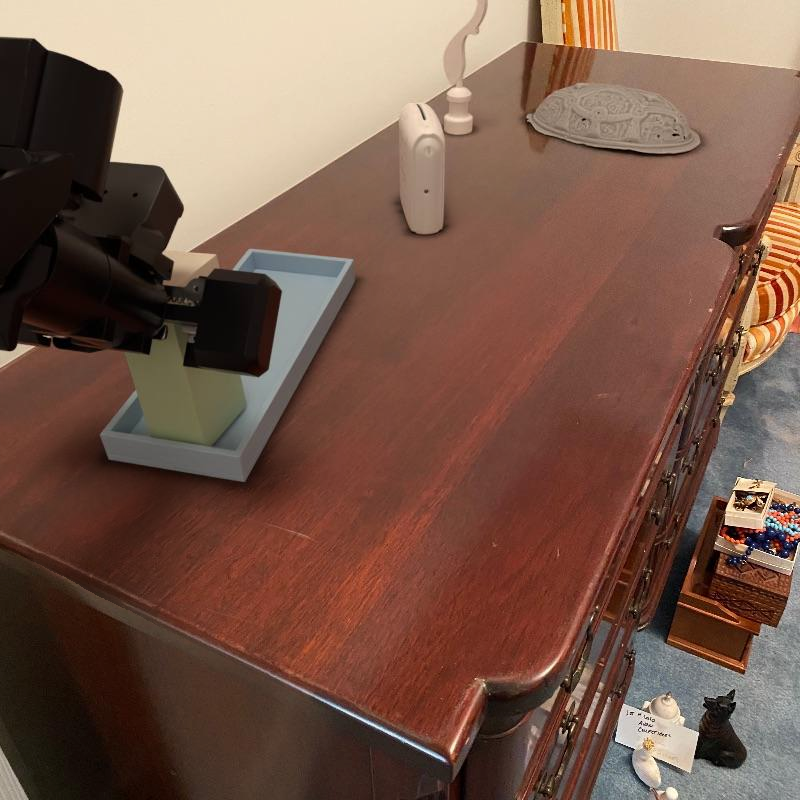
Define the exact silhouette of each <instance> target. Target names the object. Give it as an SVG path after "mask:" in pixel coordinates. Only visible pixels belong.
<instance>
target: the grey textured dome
mask: <svg viewBox="0 0 800 800" xmlns="http://www.w3.org/2000/svg"><path fill="white" fill-rule="evenodd" d="M525 118H526V119H527V123H528V122H529V123H530V124H531V125H532V127H533V128H534V129H535V131H537V132H539V133H541V134H543V135H546V136H550V137H555V138H559V139H562V140H565V141H568V142H571V143H574V144H577V145H585V146H588V147H595V148H602V149H603V148H604V149H606V148H607V149H615V150H631V151H636V152H639V153H640V152H641V153H644V154H645V153H646V154H660V155H662V154H663V155H664V154H680V153H685V152H689V151H692V150H694V149H695V148H697V147H698V146H700V144H701V139H700V136H699V134H698V133H697V132H695V130H693V129H691V127H690V125H689V124H688V122H687V118H686V116H685V115H684V114H683V113H682V111H680V110H679V109H678V108H677V106H676V105H674V104H673V103H671V102H670V101H669V100H667V99H666V98H664V97H663V96H661V95H660V94H659V93H657V92H650V91H647V90H643V89H640V88H636V87H628V86H623V85H621V84H610V83H599V82H598V83H597V82H596V83H592V82H590V83H586V82H577V83H575V84H574V85H571V86H567V87H563V88H561V89H556V90H554V91H553V92H552V93H550V94H549V95H548V96H547V97H545V98H544V99H543V101H542V102H541V103H540V104H539V106H538V107H536V109H535V112H534V113H528V114H527V115H526V116H525ZM583 119H585V120H583ZM673 134H676V135H675V136H674V135H673Z"/></svg>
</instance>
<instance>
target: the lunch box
mask: <svg viewBox="0 0 800 800" xmlns="http://www.w3.org/2000/svg"><path fill="white" fill-rule="evenodd" d="M162 254H163V255H165V256H166V257H168V258H170V259H171V260H173V261H174V266H173V271H172V276H171V280H170V281H167V280H164V281H163V285H169V286H178V287H185V286H187V284H188V283H189V281H191V280H192V279H195V278H199V276H205V277H208V275H209V274H210V273H211V272H212V271H213V270H214V268H218V269H221V268H220V264H219V260H218V255H217V254H216V253H205V252H192V251H191V252H190V251H179V250H168V249H167V250H166V249H165V250H164V251H163V253H162ZM188 302H191V303H193V302H192V301H190V300H189V301H188ZM168 303H170V304H179V305H185V304H184V303H183V301H182V302H181V304H180V303H177V300H176V302H175V303H173V302H171V300H170V302H168ZM163 325H167V326H168V335H167V338H166V340H165V341H158V340H152V345H151V351H150V355H144V354H136V353H129V352H123V353H124V356H125V360H126V362H127V366H128V369H129V372H130V375H131V379H132V382H133V385H134V389H135V390H136V392H137V395H138V398H139V402H140V405H141V408H142V411H143V414H144V418H145V421H146V424H147V427H148V430H149V434H150V437H152V438H159V439H165V440H171V441H177V442H184V443H190V444H196V445H202V446H209V447H211V446H212V445H213V444H214V443H215V442H216V440H217V439H218V438H219V437H220V436H221V435H222V433H223V432H224V431H225V430H226V429H227V427H228V426H229V425H230V424H231V423H232V422H233V420H234V419H235V418H236V417H237V416H238V415H239V413H240V412H241V411H242V410H243V409H244V408H245V406H246V405H247V403H246V398H245V393H244V389H243V384H242V380H241V375H238V374H231V373H223V372H218V371H213V370H207V369H199V368H192V367H185V366H183V361H184V356H185V350H186V345H187V338H188V334H187V333H184V332H181V325H182V324H174V323H166V322H164V323H163ZM163 325H162V327H163Z"/></svg>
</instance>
